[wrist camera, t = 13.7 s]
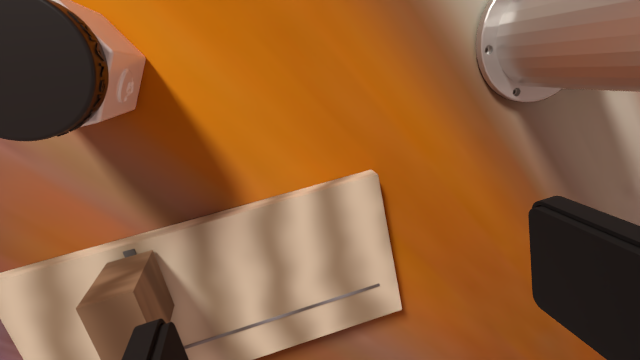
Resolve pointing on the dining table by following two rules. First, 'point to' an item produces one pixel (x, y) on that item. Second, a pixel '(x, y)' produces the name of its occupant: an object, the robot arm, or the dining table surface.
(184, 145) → the dining table surface
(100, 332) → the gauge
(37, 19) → the jar
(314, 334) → the board
